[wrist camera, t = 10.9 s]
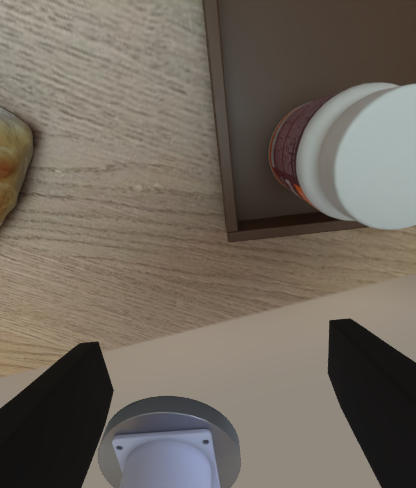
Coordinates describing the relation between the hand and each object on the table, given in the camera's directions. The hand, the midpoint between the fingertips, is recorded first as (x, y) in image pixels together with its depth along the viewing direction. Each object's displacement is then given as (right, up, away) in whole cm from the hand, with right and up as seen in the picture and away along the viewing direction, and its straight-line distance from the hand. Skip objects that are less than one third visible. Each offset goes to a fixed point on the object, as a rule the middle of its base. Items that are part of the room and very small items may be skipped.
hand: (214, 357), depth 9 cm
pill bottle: (+5, +9, +7) cm, 13 cm away
